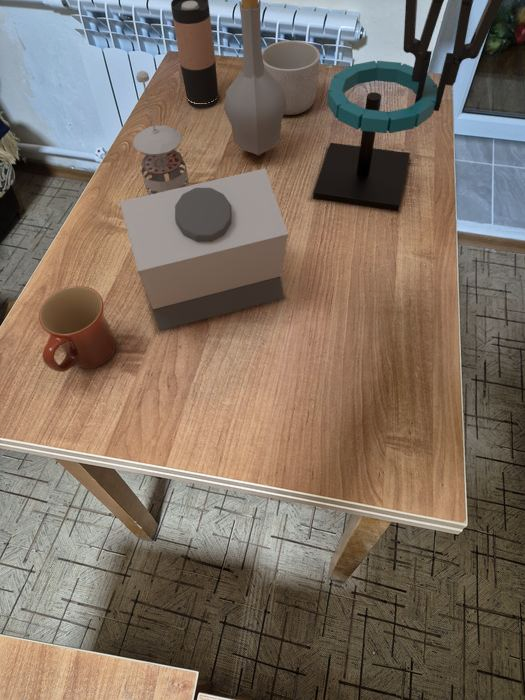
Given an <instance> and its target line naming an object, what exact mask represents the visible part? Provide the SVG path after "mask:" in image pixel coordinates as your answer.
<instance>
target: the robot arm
mask: <svg viewBox="0 0 525 700" xmlns="http://www.w3.org/2000/svg"><path fill="white" fill-rule="evenodd" d="M444 1H445V0H431V3H430V6H429V9H428V12H427V17H426V19H425V22H424V26H423V29H422V32H421V35H420V37H419V38H420V39H418V38H416V30H417V29H416V27H417V15H418V0H405V6H404V7H405V9H404V10H405V11H404V12H405V13H404V31H403V46H402V47H403V52H404V53H405V54H409V53H410V54H412V55H413V56H414V64H413V67H414V68H413V73H412V81H413V82H419V85H418V89H417V94H415V99H414V104H415V103H416V102H417V101H419V100H420V99H421V98H422V94H423V90H424V86H425V81H426V77H427V74H428V72H429V68H430V65H431V59H432V52H433V51H432V50H429V47H430V44H431V40H432V39H433V35H434V32H435V28H436V27H437V26H436V25H437V22H438V19H439V16H440V14H441V10H442V7H443V4H444ZM460 1H461V2H460V8H459V13H458V19H457V26H456V31H455V38H454V42H453V43H454V44H453V51H452V52H446V55H445V58H444V62H443V65H442V70H441V74H440V78H439V82H438V85H437V87H438V90H437V97H436V103H435V107H434V111H435V112H439V111H440V108H441V104H442V100H443V97H444V93H445V89H446V86H454V85H455V83H456V81H457V77H458V75H459V70H460V66H461V64H462V62H463V61H465V60H467V59H471V60H475V59H476V58H477V57H478V56H479V54H480V52H481V49H482V48H483V45H484V43H485V41H486V39H487V37H488V35H489V32H490V30H491V28H492V25H493V24H494V21H495V18H496V16H497V14H498V12H499V10H500V8H501V5H502V3H503V1H504V0H487V2H486V5H485V7H484V9H483V11H482V14H481V16H480V18H479V21H478V23H477V25H476V28H475V29H474V32H473V35H472V37H471V40H470V42H468V43H466V39H467V33H468V29H469V28H468V27H469V23H470V17H471V13H472V7H473V6H472V5H473V0H460ZM434 111H433V112H434Z"/></svg>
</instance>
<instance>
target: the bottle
mask: <svg viewBox="0 0 525 700" xmlns="http://www.w3.org/2000/svg"><path fill="white" fill-rule="evenodd" d="M261 2H262V1H261V0H241V1H238V4H239V11H240V21H241V36H242V53H243V54H242V70H241V71H240V72H239V74H238V75H237V76H236V77H235V79H234V80H233V81H232V82H231V84H230V85H229V87H227V89H226V91H225V99H224V107H223V110H224V112H225V115H226V117H227V119H228V122H229V124H230V126H231V132H232V137H233V143H234V144H235V145H237V146H238V147H239V149H241V150H243V151H245V152H248V153H251V154H255V155H256V156H257V157H259V156H261V155H262V154H264V153H265V152H267V151H268V152H269V150H272V149H273V148H274V147H276V146H277V143H278V142H280V140H281V131H282V121H283V118H284V116H285V115H284V112H285V109H286V105H287V104H286V100H285V96H284V91H283V87H282V86H281V85H280V84H279V83H278V82H277V81H276V80H275V79H274V78H273V77H272V76H271V75H270V74H269V73H268V72H267V71H266V70H265V69H264V64H263V57H262V51H263V50H262V28H261V25H262V24H261V4H262V3H261Z"/></svg>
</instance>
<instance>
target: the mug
mask: <svg viewBox="0 0 525 700" xmlns="http://www.w3.org/2000/svg"><path fill="white" fill-rule="evenodd" d="M104 308H105V307H104V300H103V298H102V296H101V294H100V293H99V292H98V290H96V289H94V288H92V287H90V286H85V285H72V286H66V287H64V288H61V289H59V290H57V291H55V292H54V293H52V294H50V296H48V297H47V299H46V300H44V302H43V303H42V305H41V307H40V309H39V312H38V320H39V324H40V326H41V328H42V330H44V331H45V332H47V334H49V337H48V340H47V343H46V344H45V346H44V348H43V351H42V360H43V362H44V363H45V365H46V366H47V367H48V368H49V369H51V370H53V371H55V372H60V373H64V372H67V371H69V370H70V369H72V368H73V367H75V366H77V367H79V368H82V369H89V370H90V369H94V368H98V367H101V366H102V365H104V364H106V363H107V362H108V361H109V360H110V359H111V358H112V357H113V355H114V354H115V351H116V347H117V346H116V338H115V334H114V332H113V330H112V327H111V326H110V324H109V322H108V320H107V319H106V317H105V313H104ZM59 347H60V348H61V349H62V350H63V352H64V354H65V356H64V359H63V361H61V362H60V363H58V362H57V361H56V359H55V354H56V351H57V350H58V348H59Z"/></svg>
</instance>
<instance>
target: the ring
mask: <svg viewBox="0 0 525 700" xmlns="http://www.w3.org/2000/svg"><path fill="white" fill-rule="evenodd" d="M413 68H414V66H411V65H410V64H406V63H402V62H397V61H384V60H377V61H375V60H371V61H366V62H360V63H355V64H351V65H349V66H347V67H345V68H344V69H343V70H341V71H339V72H337V73H336V74H334V75H333V77H332V78H331V81H330V83H329V86H328V89H327V101H326V103H327V106H328V108H329V110H330V111H331V113H332V115H333V116H334V118H335V119H337V121H339V122H341V123H343V124H345V125H347V126H349V127H351V128H353V129H355V130H357V131H358V130H360V131H361V132H362V131H369V132H376V133H379V134H387V133H389V134H394V133H398V132H404V131H408V130H413V129H415V128H418V127H419V126H420V125H422V124H423V123H425V122H426V121H427V120H428V119H430V118H431V117H432V115H433V114H434V107H435V103H436V97H437V90H438V84H437V83H436V82H435V81H434V80H433V79H432V78H431V76H430V75H429V74H428V73H427V77H426V81H425V86H424V90H423V94H422V98H421V99H420V100H419V101H417V102H416V103H415V102H414V103H413V104H412V105H410V106H409V107H405V108H399V109H395V110H390V111H384V110H379V111H376V110H367V109H365V107H363V106H360V105H358V104H356V103H354V102H352V101H350V100H349V98H348V97H347V96H346V94H345V93H346V92H349V90H351V89H352V88H354V87H356V86H357V85H361V84H366V83H371V82H385V83H394V84H398V85H400V86H402V87H405V88H407V89H409V90H411V91H412V92H413V93H414V94H415V95H416V94H417V89H418V85H419V82H413V81H412V73H413Z"/></svg>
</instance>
